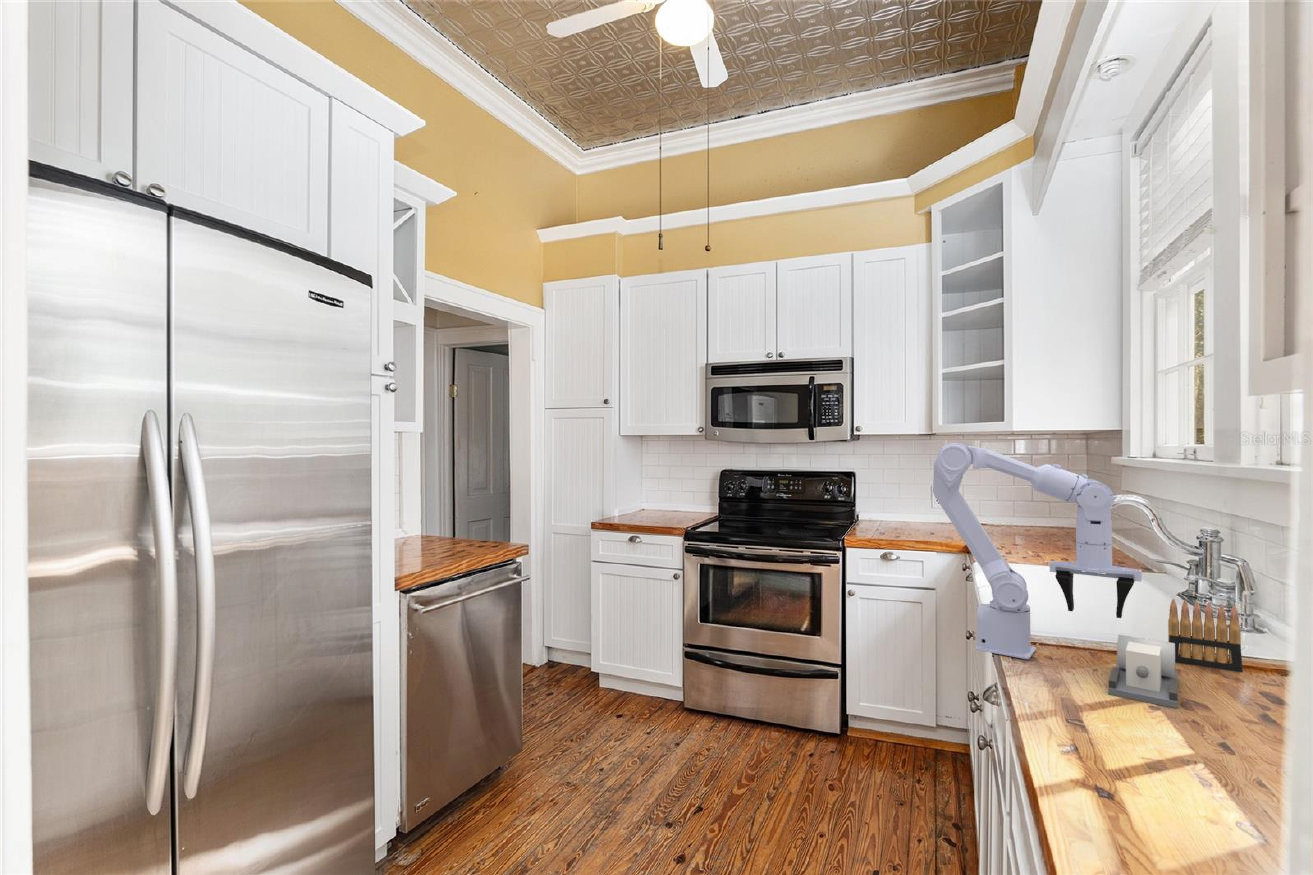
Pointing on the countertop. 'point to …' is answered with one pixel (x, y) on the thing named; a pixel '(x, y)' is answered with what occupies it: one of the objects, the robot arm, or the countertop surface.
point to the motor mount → (1119, 688)
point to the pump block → (1143, 666)
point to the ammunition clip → (1205, 637)
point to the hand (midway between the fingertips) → (1094, 613)
